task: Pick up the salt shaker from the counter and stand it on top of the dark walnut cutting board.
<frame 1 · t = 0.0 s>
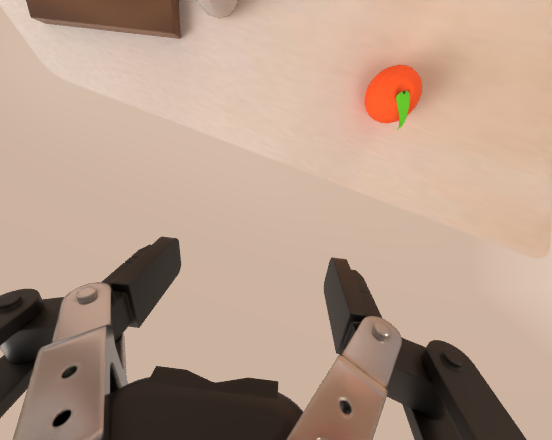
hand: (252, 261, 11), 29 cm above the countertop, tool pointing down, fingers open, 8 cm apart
clementine: (381, 102, 33), on the countertop
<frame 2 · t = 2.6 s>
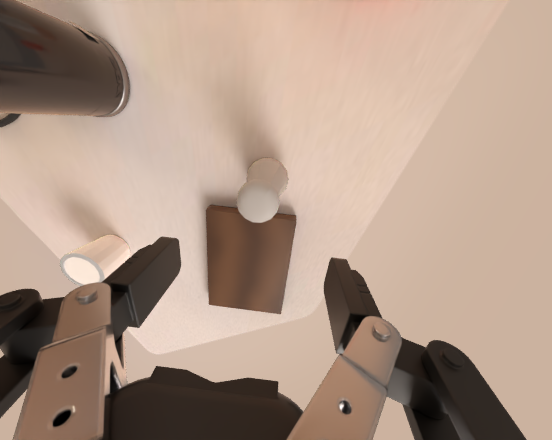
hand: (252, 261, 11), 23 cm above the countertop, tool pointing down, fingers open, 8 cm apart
salt shaker: (269, 174, 32), on the countertop
cutting board: (249, 260, 39), on the countertop
shot glass: (115, 247, 40), on the countertop
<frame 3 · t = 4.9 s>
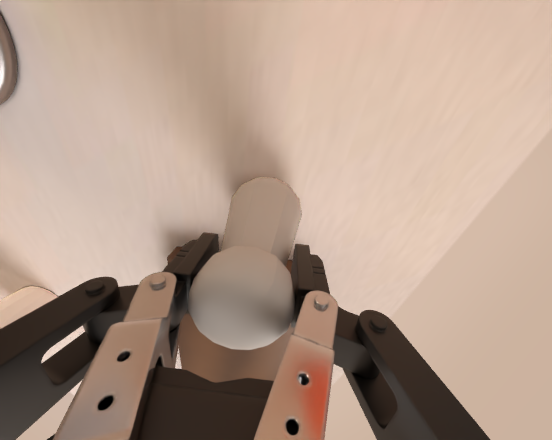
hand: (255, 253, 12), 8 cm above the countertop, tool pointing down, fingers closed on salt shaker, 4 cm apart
salt shaker: (268, 201, 20), on the countertop, touching gripper
cutting board: (240, 322, 26), on the countertop
shot glass: (44, 302, 27), on the countertop
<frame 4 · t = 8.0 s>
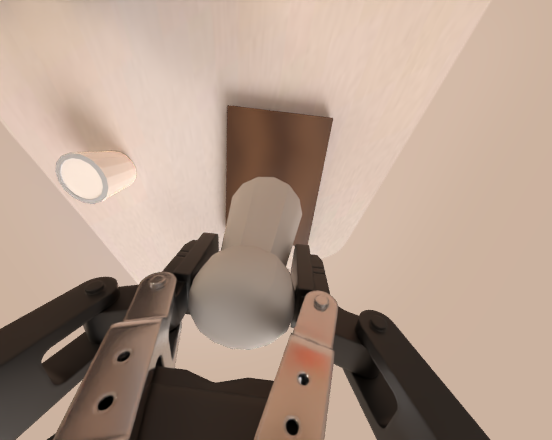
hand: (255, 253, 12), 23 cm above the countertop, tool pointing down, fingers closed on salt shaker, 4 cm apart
salt shaker: (268, 201, 20), point 15 cm above the countertop, touching gripper
cutting board: (273, 181, 34), on the countertop
shot glass: (120, 168, 35), on the countertop
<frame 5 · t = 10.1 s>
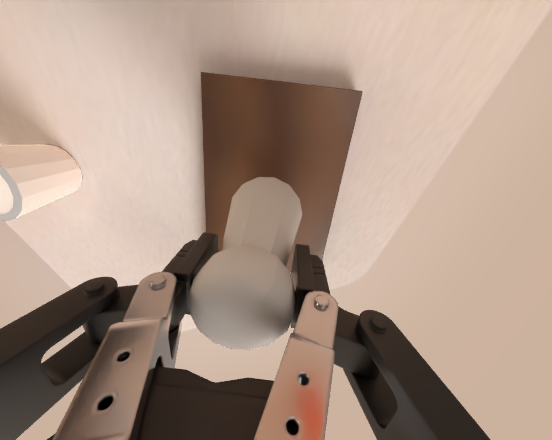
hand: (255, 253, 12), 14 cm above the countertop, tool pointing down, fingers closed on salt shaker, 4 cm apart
salt shaker: (268, 201, 20), point 5 cm above the countertop, touching gripper
cutting board: (271, 187, 24), on the countertop
shot glass: (59, 169, 25), on the countertop
when the fingers open (10 cm above the countertop, at t = 11.4 s): salt shaker stays where it is, resting on cutting board.
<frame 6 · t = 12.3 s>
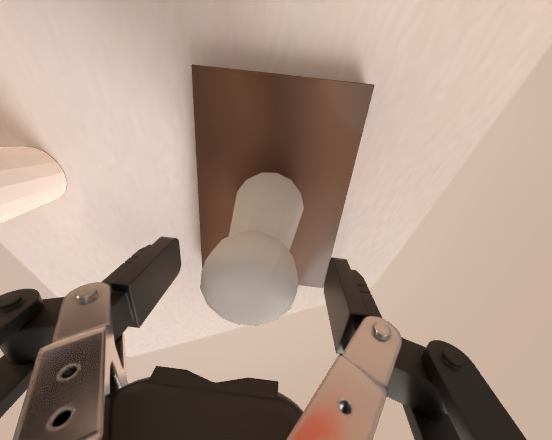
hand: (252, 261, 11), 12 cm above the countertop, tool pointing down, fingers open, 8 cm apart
salt shaker: (271, 196, 21), point 2 cm above the countertop, touching cutting board
cutting board: (272, 192, 22), on the countertop
shot glass: (41, 173, 23), on the countertop
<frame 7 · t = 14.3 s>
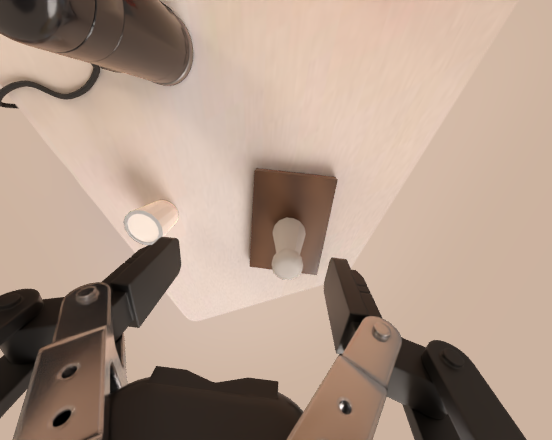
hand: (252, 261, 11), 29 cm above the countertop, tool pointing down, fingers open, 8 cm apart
salt shaker: (289, 226, 40), point 2 cm above the countertop, touching cutting board
cutting board: (289, 223, 42), on the countertop
shot glass: (165, 212, 44), on the countertop
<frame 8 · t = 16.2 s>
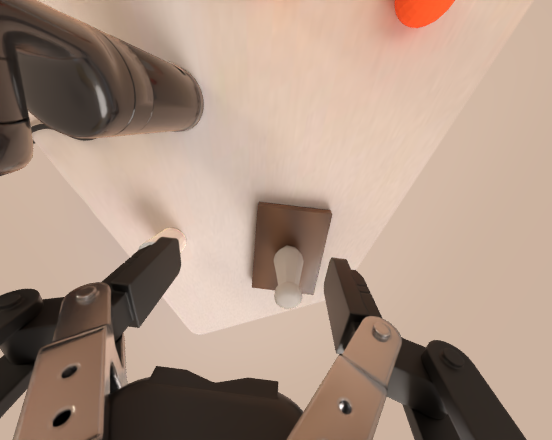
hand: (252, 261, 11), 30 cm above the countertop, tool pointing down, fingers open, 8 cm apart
clementine: (415, 2, 29), on the countertop
salt shaker: (288, 253, 45), point 2 cm above the countertop, touching cutting board
cutting board: (288, 249, 46), on the countertop
shot glass: (174, 238, 47), on the countertop
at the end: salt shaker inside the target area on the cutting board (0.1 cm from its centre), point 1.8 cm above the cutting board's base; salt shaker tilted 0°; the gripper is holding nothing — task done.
